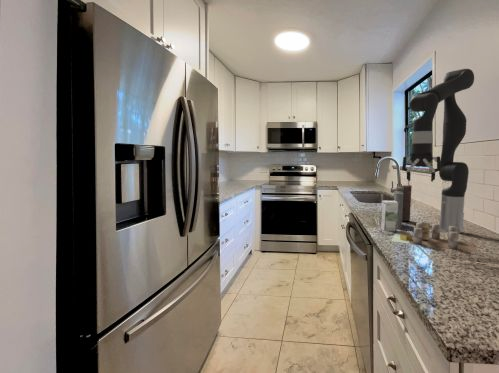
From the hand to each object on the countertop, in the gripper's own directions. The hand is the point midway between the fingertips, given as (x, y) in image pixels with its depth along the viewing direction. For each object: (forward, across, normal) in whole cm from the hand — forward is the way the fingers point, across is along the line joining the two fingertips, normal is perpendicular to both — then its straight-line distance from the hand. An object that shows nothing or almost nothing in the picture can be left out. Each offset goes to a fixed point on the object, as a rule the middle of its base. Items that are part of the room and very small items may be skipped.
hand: (420, 181), depth 138 cm
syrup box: (+25, +13, -11) cm, 31 cm away
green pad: (+25, +6, +6) cm, 26 cm away
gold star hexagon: (+24, +4, +7) cm, 25 cm away
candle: (+26, +10, -42) cm, 50 cm away
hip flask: (+26, +10, -26) cm, 38 cm away
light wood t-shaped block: (+21, -3, +4) cm, 21 cm away
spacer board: (+25, -9, +6) cm, 27 cm away
